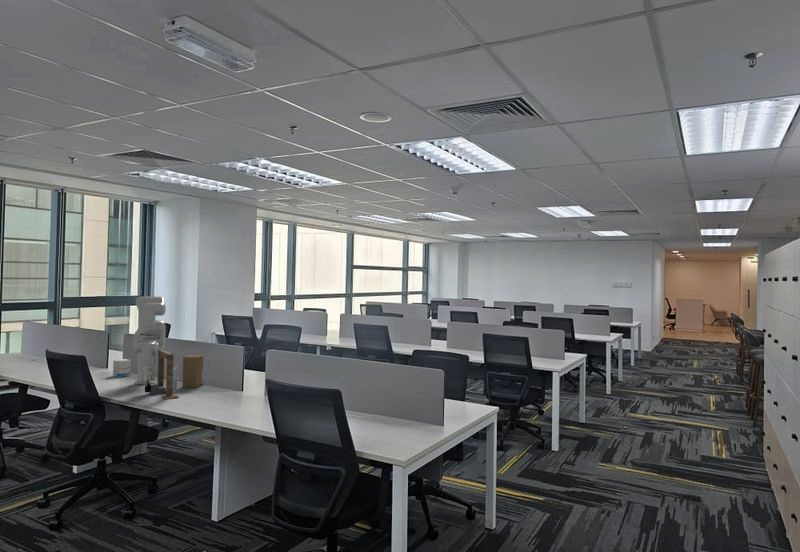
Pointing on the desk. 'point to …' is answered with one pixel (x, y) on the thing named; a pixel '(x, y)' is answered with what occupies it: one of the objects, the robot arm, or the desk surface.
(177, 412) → the desk surface
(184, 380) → the wooden block
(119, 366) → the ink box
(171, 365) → the door frame
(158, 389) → the wedge
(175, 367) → the door leaf
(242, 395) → the desk surface
